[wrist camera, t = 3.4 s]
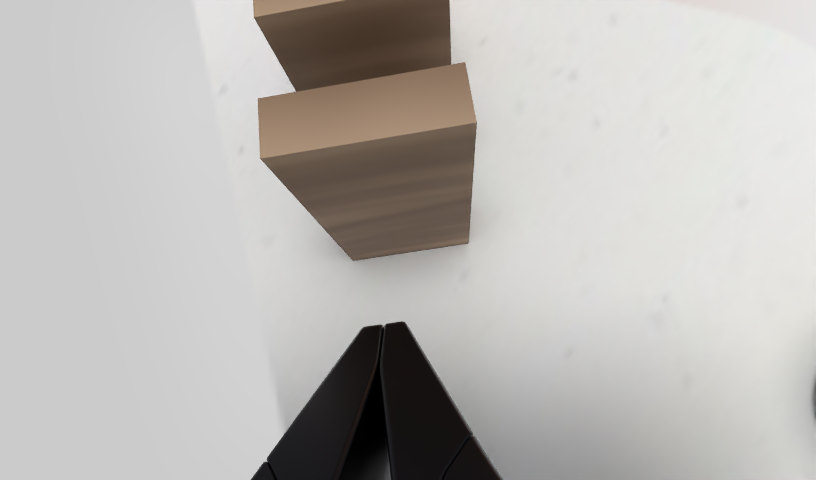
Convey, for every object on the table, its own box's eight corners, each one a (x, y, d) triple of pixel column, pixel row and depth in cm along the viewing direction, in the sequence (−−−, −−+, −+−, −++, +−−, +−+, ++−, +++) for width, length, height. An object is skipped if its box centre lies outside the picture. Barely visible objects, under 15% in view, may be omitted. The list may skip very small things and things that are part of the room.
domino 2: (468, 243, 20) (476, 122, 11) (353, 260, 20) (260, 158, 11) (462, 208, 21) (464, 62, 11) (349, 225, 21) (257, 98, 11)
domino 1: (453, 158, 21) (448, -20, 12) (344, 176, 22) (254, 17, 12) (448, 127, 22) (439, -69, 12) (341, 144, 22) (251, -32, 13)
